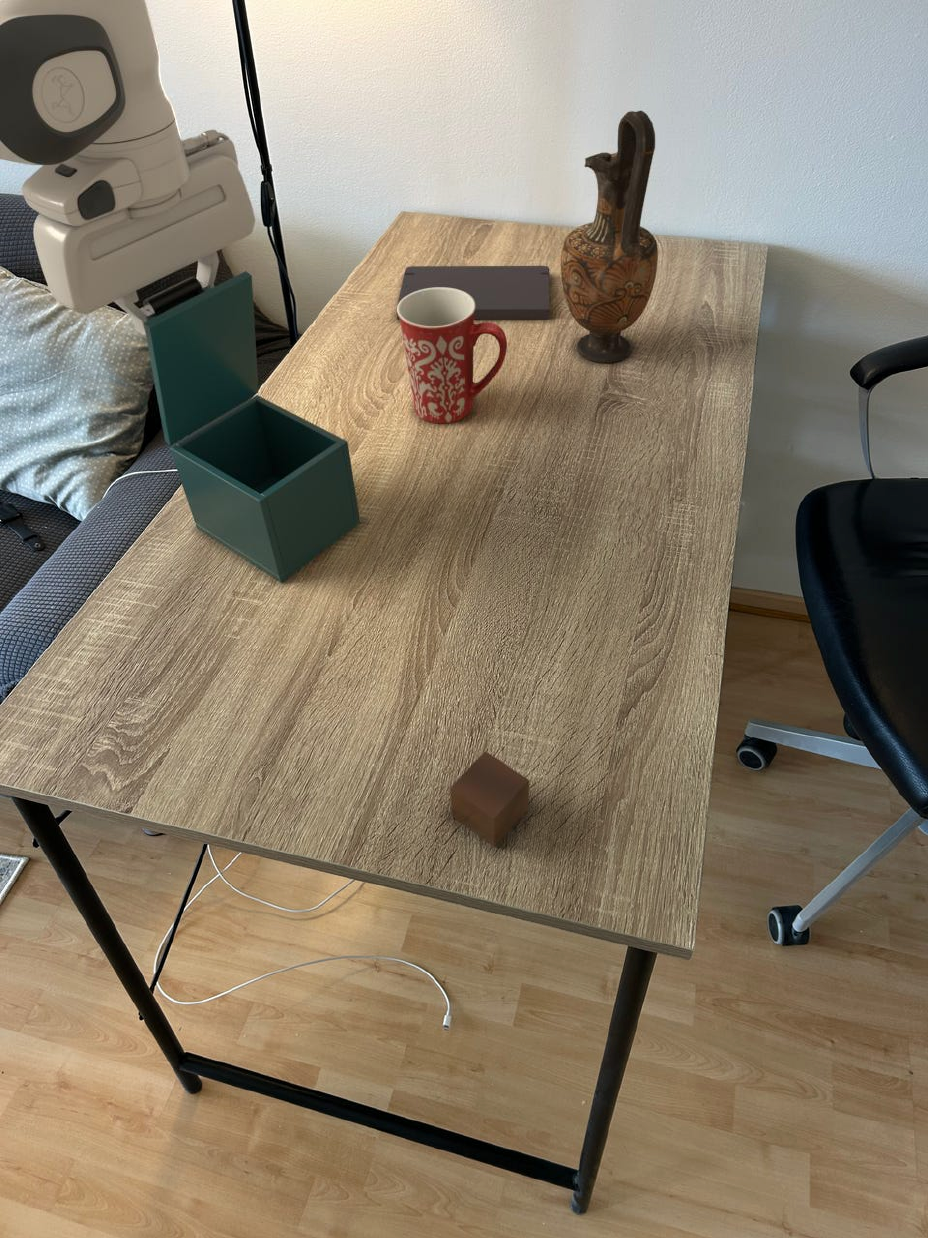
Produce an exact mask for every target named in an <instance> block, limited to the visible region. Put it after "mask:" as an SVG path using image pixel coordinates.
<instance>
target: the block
mask: <svg viewBox="0 0 928 1238" xmlns="http://www.w3.org/2000/svg"><path fill="white" fill-rule="evenodd" d="M449 792H450V804H451V815H452V818H454V819H455V820H457V822H459V823H460V824H461V825H463V826H465V827H466V828H467V829H468V830H470V831H471V832H472V833H474V834H475V835H476V836H477V837H479V838H481V839H482V840H484V841H485V842H486V843H488V844H489V845H490V846H492V847H494V848H496V847H497V846H498V845H499V843H500V842H501V841H502V840H503V839H504V838H505V837H506V835H507V834H508V833H509V832H510V831H511V830H512V828H513V827H515V825H516V824H517V823H518V821H520V820H521V818H522V817H523V816H524V815H525V814H526V813H527V812H528V810H529V796H530V795H529V793H530V780H529V779H528V778H527V777H525V776H524V775H523V774H521V773H519V772H518V771H516V770H514V769H513V768H512V767H511V766H509V765H507V764H506V763H504V762H503V761H502V760H500V759H498V758H497V757H495V756H494V755H492V754H491V753H489V752H488V751H486V750H484V751H483V753H482V754H481V755H479V757H478V758H477V759H476V760H475V761H474V762H473V763H472V764H471V765H470V766H469V767H468V768H467V769H466V771H464V773H463V774H461V776H459V778H457V780H456V781H455V782H454V783H453V784H452V785H450V787H449Z"/></svg>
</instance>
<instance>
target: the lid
mask: <svg viewBox="0 0 928 1238" xmlns="http://www.w3.org/2000/svg"><path fill="white" fill-rule="evenodd" d="M214 286H215V285H214ZM253 290H254V289H253V275H252V274H251V273H249V272H248V271H246V270H245V271H243V272H241V273H239V274H237V275H235V276H233V277H231V278H228V279H227V280H225V281H223V282H221V283H219V284H217V285H216V286H215V287H213V288H211V289H209V290H207V291H204V290H203V288H202V286H201V284H200V282H199V281H198V280H197V279H196V277H195V276H190V277H188V278H187V279H184V280H182V281H180V282H178V283H176V284H174V285H172V286H170V287H168V288H166V289H164V290H161V291H160V292H158V293H156V294H153V295H151V296H150V297H148V298H145V299H144V300H143V302H142V307H143V308H145V309H147V311H151V312H153V313H154V315H155V317H154V318H152V319H151V320H149V321H147V322H145V323H144V327H145V333H146V336H145V338H146V342H147V343H146V344H147V348H148V354H149V360H150V366H151V371H152V377H153V382H154V389H155V393H156V398H157V404H158V409H159V415H160V419H161V427H162V432H163V437H164V442H165V444H167V445H169V446H170V447H172V446H173V445H175V444H176V443H178V442H180V441H181V440H183V439H185V438H186V437H188V436H190V435H191V434H193V433H195V432H196V431H198V430H200V429H201V428H203V427H205V426H206V425H208V424H210V423H211V422H213V421H214V420H216V419H218V418H219V417H221V416H223V415H224V414H226V413H228V412H229V411H231V410H233V409H234V408H236V407H238V406H239V405H241V404H243V403H244V402H246V401H248V400H249V399H251V398H253V397H254V396H256V395H258V394H259V379H258V375H259V374H258V362H257V361H258V360H257V345H256V344H257V343H256V342H257V341H256V327H255V308H254V307H255V306H254V291H253Z"/></svg>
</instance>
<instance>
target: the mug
mask: <svg viewBox="0 0 928 1238" xmlns="http://www.w3.org/2000/svg"><path fill="white" fill-rule="evenodd" d="M397 304H398V303H397ZM396 308H397V312H396V315H397V314H398V317H399V318H400V319H399V322H400V329H401V335H402V343H403V347H404V354H405V359H406V365H407V373H408V378H409V384H410V390H411V397H412V403H413V409H414V413H416V415H417V416H418V417H419V418H420V419H422V420H423V421H425V422H429V423H433V424H449V423H454V422H457V421H460V420H462V419H464V418H465V417H467V416H468V415H469V414H470V413H471V411H472V410H473V405H474V398H475V397H477V396H478V395H479V394H480V393H481V392H482V391H483V390H485V388H486V387H487V386H488V385H489V384H490V383H491V381H492V380H493V379H494V378H495V377H496V375H497V374H498V373H499V372H500V370H501V368H502V366H503V365H504V362H505V359H506V355H507V348H508V341H507V340H508V339H507V336H506V333H505V331H504V330H503V328H502V327H501V326H500V325H498V324H495V322H488V321H486V322H485V321H484V322H481V323H474V322H475V319H474V312H475V308H476V304H475V301H474V299H473V298H472V297H471V296H470V295H469V294H467V293H466V292H464V291H461V290H458V289H454V288H446V287H435V288H427V289H422V290H418V291H416V292H413V293H411V294H409V295H407V296H406V297H404V298H403V299H402V300H401V301H400V302H399V304H398V306H397V305H396ZM482 335H490V336H492V337H494V338H495V340H496V341H497V343H498V346H499V352H498V356H497V359H496V361H495V363H494V364H493V366H492V367H491V369H490V370H489V371H488V372H487V374H485V376H483V378H482V379H480V380H479V381H478V382H475V381H474V347H475V346H476V345H477V342H478V339H479V337H481V336H482Z"/></svg>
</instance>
